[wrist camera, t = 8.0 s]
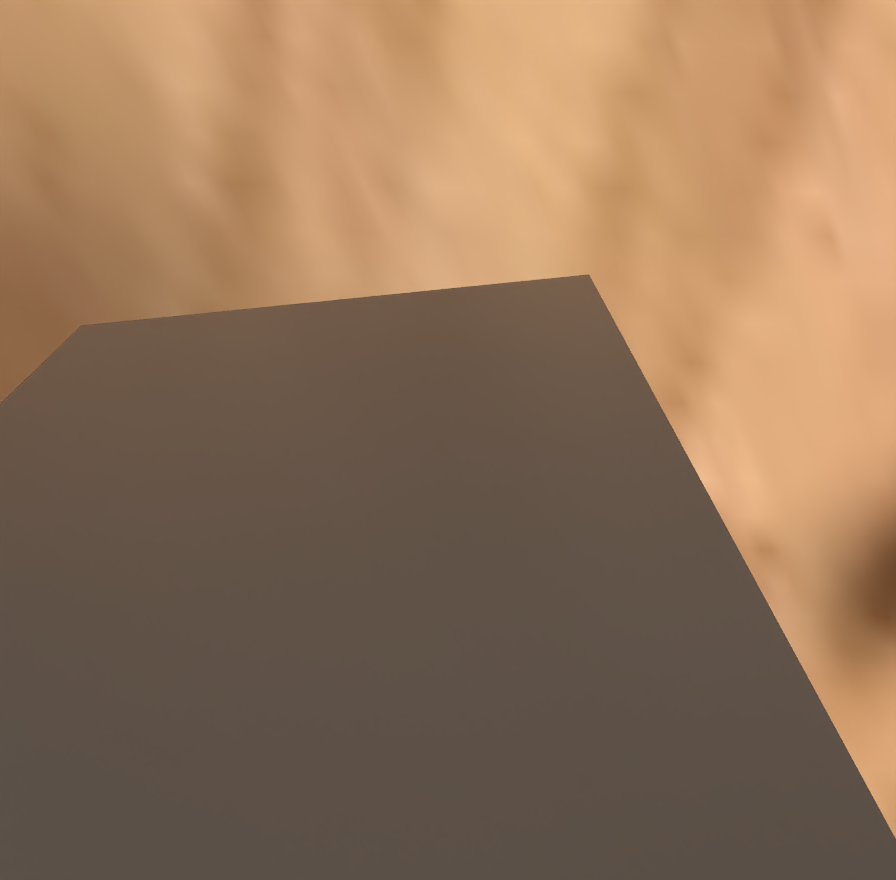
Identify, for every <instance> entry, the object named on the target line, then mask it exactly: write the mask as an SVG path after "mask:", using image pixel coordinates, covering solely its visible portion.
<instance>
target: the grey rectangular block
mask: <svg viewBox="0 0 896 880" xmlns="http://www.w3.org/2000/svg"><path fill="white" fill-rule="evenodd" d="M0 880H896V839H895V837H894V835H893V833H892V831H891V830H890V828H889V826H888V824H887V822H886V820H885V819H884V817H883V815H882V813H881V811H880V809H879V807H878V806H877V804H876V802H875V800H874V798H873V796H872V795H871V793H870V791H869V789H868V787H867V785H866V784H865V782H864V780H863V778H862V776H861V774H860V773H859V771H858V769H857V767H856V765H855V763H854V761H853V760H852V758H851V756H850V754H849V752H848V750H847V749H846V747H845V745H844V743H843V741H842V739H841V738H840V736H839V734H838V732H837V730H836V728H835V727H834V725H833V723H832V721H831V719H830V717H829V715H828V714H827V712H826V710H825V708H824V706H823V704H822V703H821V701H820V699H819V697H818V695H817V693H816V692H815V690H814V688H813V686H812V684H811V682H810V680H809V679H808V677H807V675H806V673H805V671H804V669H803V668H802V666H801V664H800V662H799V660H798V658H797V657H796V655H795V653H794V651H793V649H792V647H791V646H790V644H789V642H788V640H787V638H786V636H785V634H784V633H783V631H782V629H781V627H780V625H779V623H778V622H777V620H776V618H775V616H774V614H773V612H772V611H771V609H770V607H769V605H768V603H767V601H766V600H765V598H764V596H763V594H762V592H761V590H760V588H759V587H758V585H757V583H756V581H755V579H754V577H753V576H752V574H751V572H750V570H749V568H748V566H747V565H746V563H745V561H744V559H743V557H742V555H741V553H740V552H739V550H738V548H737V546H736V544H735V542H734V541H733V539H732V537H731V535H730V533H729V531H728V530H727V528H726V526H725V524H724V522H723V520H722V519H721V517H720V515H719V513H718V511H717V509H716V507H715V506H714V504H713V502H712V500H711V498H710V496H709V495H708V493H707V491H706V489H705V487H704V485H703V484H702V482H701V480H700V478H699V476H698V474H697V472H696V471H695V469H694V467H693V465H692V463H691V461H690V460H689V458H688V456H687V454H686V452H685V450H684V449H683V447H682V445H681V443H680V441H679V439H678V438H677V436H676V434H675V432H674V430H673V428H672V426H671V425H670V423H669V421H668V419H667V417H666V415H665V414H664V412H663V410H662V408H661V406H660V404H659V403H658V401H657V399H656V397H655V395H654V393H653V392H652V390H651V388H650V386H649V384H648V382H647V380H646V379H645V377H644V375H643V373H642V371H641V369H640V368H639V366H638V364H637V362H636V360H635V358H634V357H633V355H632V353H631V351H630V349H629V347H628V345H627V344H626V342H625V340H624V338H623V336H622V334H621V333H620V331H619V329H618V327H617V325H616V323H615V322H614V320H613V318H612V316H611V314H610V312H609V311H608V309H607V307H606V305H605V303H604V301H603V299H602V298H601V296H600V294H599V292H598V290H597V288H596V287H595V285H594V283H593V281H592V279H591V277H590V276H589V275H580V276H570V277H560V278H550V279H540V280H531V281H521V282H511V283H501V284H491V285H481V286H471V287H461V288H451V289H441V290H431V291H421V292H411V293H401V294H391V295H381V296H371V297H362V298H352V299H342V300H332V301H322V302H312V303H302V304H292V305H282V306H272V307H262V308H252V309H242V310H232V311H222V312H212V313H203V314H193V315H183V316H173V317H163V318H153V319H143V320H133V321H123V322H113V323H103V324H93V325H83V326H81V327H80V328H79V329H78V330H77V331H76V332H75V333H74V334H72V335H71V336H70V337H69V338H68V339H67V340H66V341H65V342H64V343H63V344H62V345H61V346H60V347H59V348H58V349H57V350H56V351H55V352H54V353H53V354H52V355H51V356H50V357H49V358H48V359H47V360H46V361H44V362H43V363H42V364H41V365H40V366H39V367H38V368H37V369H36V370H35V371H34V372H33V373H32V374H31V375H30V376H29V377H28V378H27V379H26V380H25V381H24V382H23V383H22V384H21V385H20V386H19V387H17V388H16V389H15V390H14V391H13V392H12V393H11V394H10V395H9V396H8V397H7V398H6V399H5V400H4V401H3V402H2V403H1V404H0Z"/></svg>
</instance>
